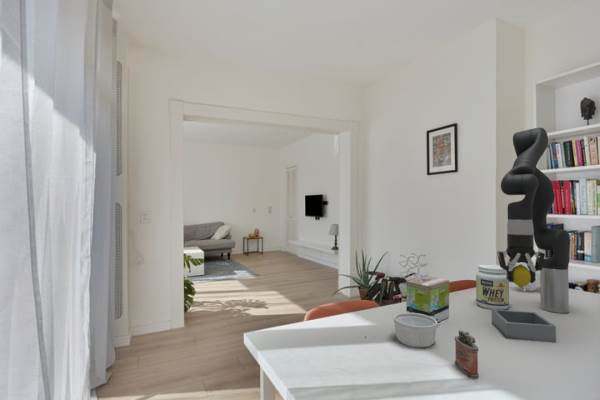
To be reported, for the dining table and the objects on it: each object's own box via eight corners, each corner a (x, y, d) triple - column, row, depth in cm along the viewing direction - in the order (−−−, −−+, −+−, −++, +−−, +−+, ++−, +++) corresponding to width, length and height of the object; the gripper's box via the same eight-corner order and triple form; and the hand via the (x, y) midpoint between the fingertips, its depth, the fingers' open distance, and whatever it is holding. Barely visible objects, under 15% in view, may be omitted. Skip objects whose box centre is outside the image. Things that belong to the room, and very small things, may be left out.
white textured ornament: (526, 295, 156) (525, 259, 156) (506, 289, 166) (505, 255, 166) (553, 291, 161) (552, 257, 161) (532, 286, 171) (531, 254, 172)
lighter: (451, 363, 90) (451, 327, 90) (463, 362, 90) (463, 326, 90) (469, 379, 82) (468, 339, 82) (482, 378, 82) (481, 338, 82)
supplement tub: (477, 308, 136) (477, 268, 137) (474, 300, 148) (474, 263, 148) (512, 312, 132) (511, 270, 132) (506, 303, 143) (505, 264, 143)
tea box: (431, 327, 116) (430, 285, 116) (405, 320, 124) (405, 280, 124) (450, 317, 126) (449, 279, 126) (425, 311, 134) (425, 275, 134)
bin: (491, 323, 120) (491, 309, 120) (535, 326, 117) (535, 312, 117) (506, 338, 106) (506, 323, 106) (556, 342, 103) (555, 326, 103)
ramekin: (436, 335, 109) (435, 314, 109) (439, 352, 97) (438, 329, 97) (394, 330, 114) (394, 310, 114) (392, 346, 101) (392, 323, 101)
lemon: (526, 286, 114) (525, 263, 114) (534, 290, 108) (533, 266, 109) (508, 285, 115) (508, 262, 115) (515, 289, 110) (515, 265, 110)
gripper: (538, 232, 114) (539, 280, 114) (492, 231, 117) (493, 278, 117) (549, 234, 107) (550, 285, 106) (500, 233, 110) (501, 283, 110)
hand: (520, 281), depth 112 cm, fingers closed on lemon, 5 cm apart
